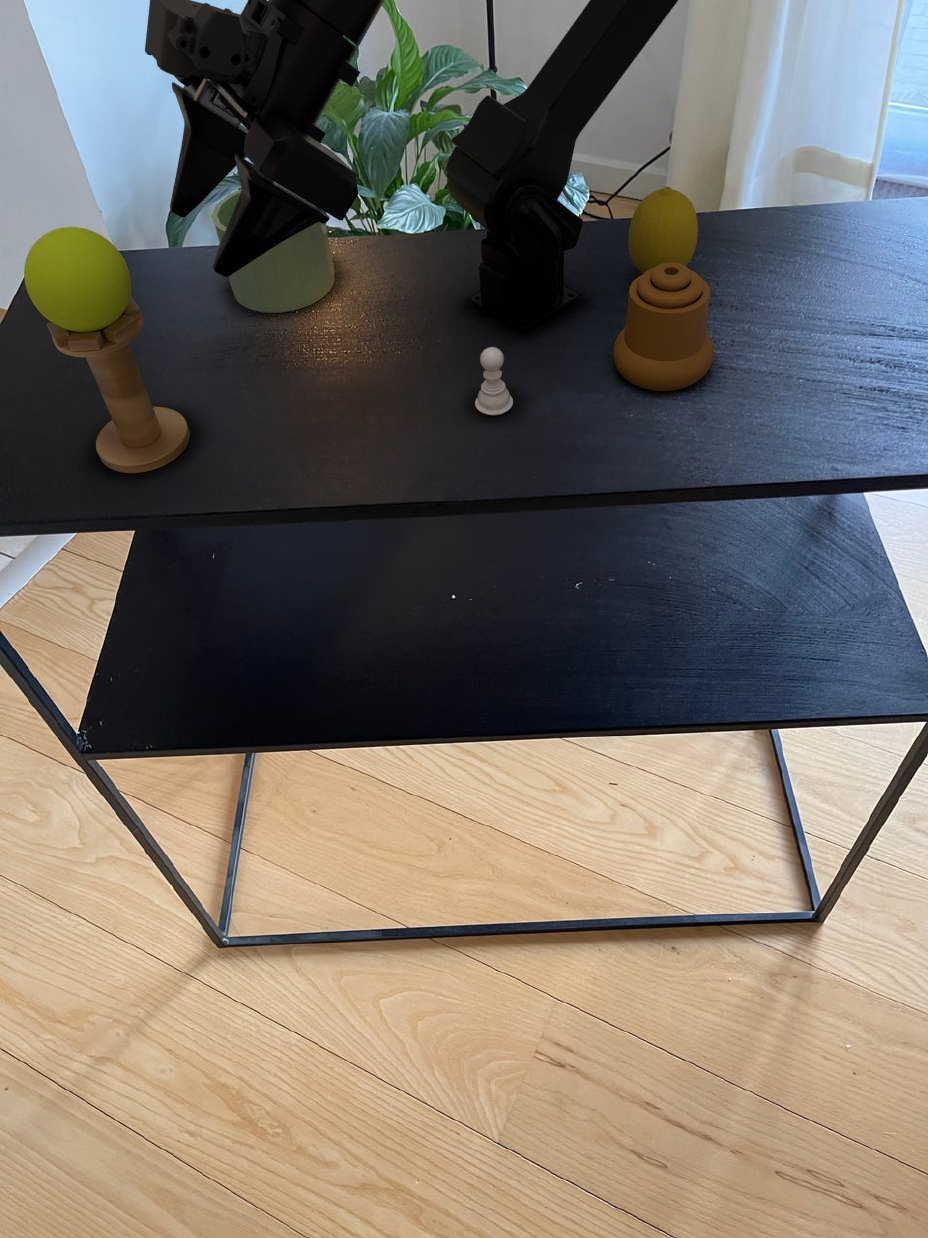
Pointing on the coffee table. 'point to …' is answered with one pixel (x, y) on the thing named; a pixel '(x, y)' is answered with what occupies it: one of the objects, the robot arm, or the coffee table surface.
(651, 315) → the ornamental finial
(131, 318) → the chess rook
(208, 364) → the coffee table surface
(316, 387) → the coffee table surface
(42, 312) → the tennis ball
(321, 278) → the cup
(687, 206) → the lemon
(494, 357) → the chess pawn
